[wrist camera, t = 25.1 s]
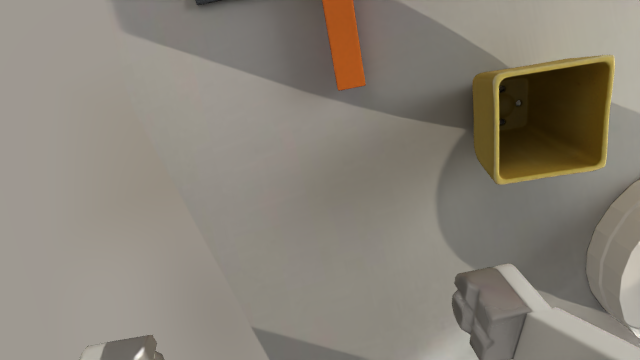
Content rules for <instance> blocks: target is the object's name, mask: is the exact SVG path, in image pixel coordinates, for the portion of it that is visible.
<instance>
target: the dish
mask: <svg viewBox="0 0 640 360" xmlns="http://www.w3.org/2000/svg"><path fill="white" fill-rule="evenodd" d="M586 274H587V278H588V282H589V285H590V289H591V292H592V293H593V294H594V296H595V297H596V299H597V300H598V301H599V303H600V304H601V305H602V307H603V308H605V309H606V310H607V311H608V312H609V313H610V314H611V315H612V316H613V317H614V318H615V319H616V320H618V321H619V322H621V323H622V324H624V325H625V326H626V327H627V328H628V329H629V330H631V331H632V332H633V333H634V334H635V335H636V336H637V337H638V338H640V179H639V180H638V181H636V182H635V183H633V184H632V185H631V186H630V187H629V188H628V189H627V190H626V191H625V192H624V193H622V194H621V195H620V196H619V197H618V198H617V199H616V200H615V201H614V202H613V203H612V204H611V205H610V207H609V208H608V210H607V211H606V213H605V214H604V216H603V217H602V219H601V220H600V222H599V223H598V225H597V226H596V228H595V231H594V233H593V236H592V239H591V242H590V245H589V248H588V250H587V264H586Z"/></svg>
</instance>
